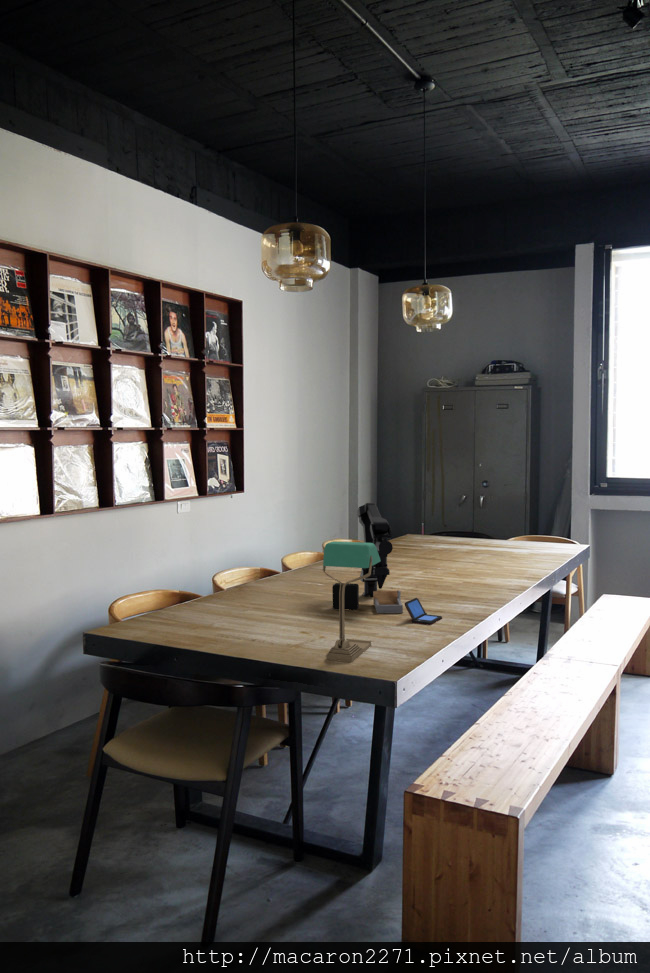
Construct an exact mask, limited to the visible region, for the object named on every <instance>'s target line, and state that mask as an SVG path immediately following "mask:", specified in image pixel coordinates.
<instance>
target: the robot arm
mask: <svg viewBox="0 0 650 973" xmlns="http://www.w3.org/2000/svg"><path fill="white" fill-rule="evenodd" d="M357 508H358V509H357V511H356V513H357V514H356V516H357V518H358V522H359V524H360V525H361V526H362V530H363V543H373V544H374V545H375V546H376V548H377V551H378V554H379V557H380V560H381V561H380V562H378V563H377V564H375V565H373V566H372V568H371V575H370V576H369V577H367V578H364V579H360V580H359V581H360V582H362V583H364V584H363V587H364V588H363V592H362V595H363V596H364V597H373V591H378V589H379V590H381V589H383V586H384V584H385V581H386V578H387V577H388V576H390V568H388V555H389V554H391V553H392V551H393V549H394V545H393V544H392V542H391V541H389V539H392V536H393V532H392V527H391V525H390V523H389V522H388V520H387V519H386V518H383V517H382V515H381V513H380V511H379V509H378V504H377V503H376V502H366V503H364V504H363V505H361V506H359V507H357ZM368 573H369V568H361V570H360V575H359V577H361V576H364V575H366V574H368Z"/></svg>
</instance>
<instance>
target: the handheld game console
mask: <svg viewBox="0 0 650 973" xmlns="http://www.w3.org/2000/svg"><path fill="white" fill-rule="evenodd" d="M421 603H422V602H421V601H420V599H419V598H418V597H414V598H413V599H410V600H408V601H405V602H404V607H405V609H406V611H407V612H408V615H409V617H410V618H411V621H412V624H421V625H426V624H428V625H427V626H430V625H432V624H435V623H437V622H438V621H440V620H442V619H443V616H442V615H437V614H436V615H435V614H428V613H427V612H426V611H425V609H424V607H423V605H422V604H421ZM436 621H437V622H436Z"/></svg>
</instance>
